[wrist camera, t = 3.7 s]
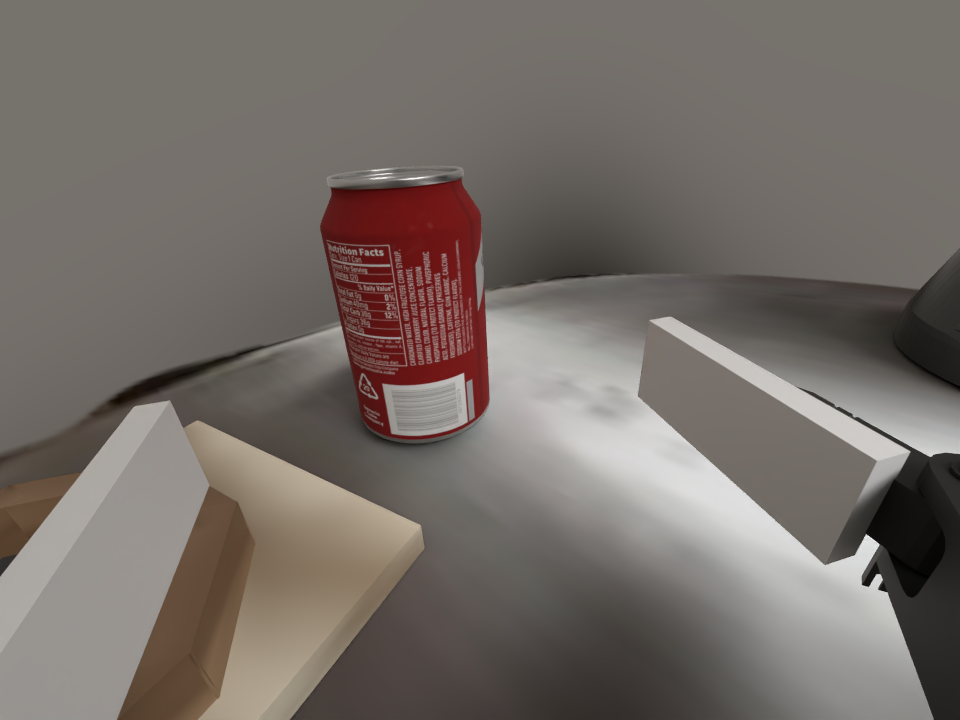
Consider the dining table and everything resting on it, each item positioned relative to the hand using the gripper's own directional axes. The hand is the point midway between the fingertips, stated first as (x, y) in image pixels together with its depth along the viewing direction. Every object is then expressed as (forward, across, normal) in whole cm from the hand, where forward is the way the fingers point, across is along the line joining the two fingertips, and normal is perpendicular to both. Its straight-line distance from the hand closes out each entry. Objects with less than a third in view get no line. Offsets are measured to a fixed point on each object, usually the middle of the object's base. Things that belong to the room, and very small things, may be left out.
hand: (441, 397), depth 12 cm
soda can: (+9, 0, -7) cm, 11 cm away
